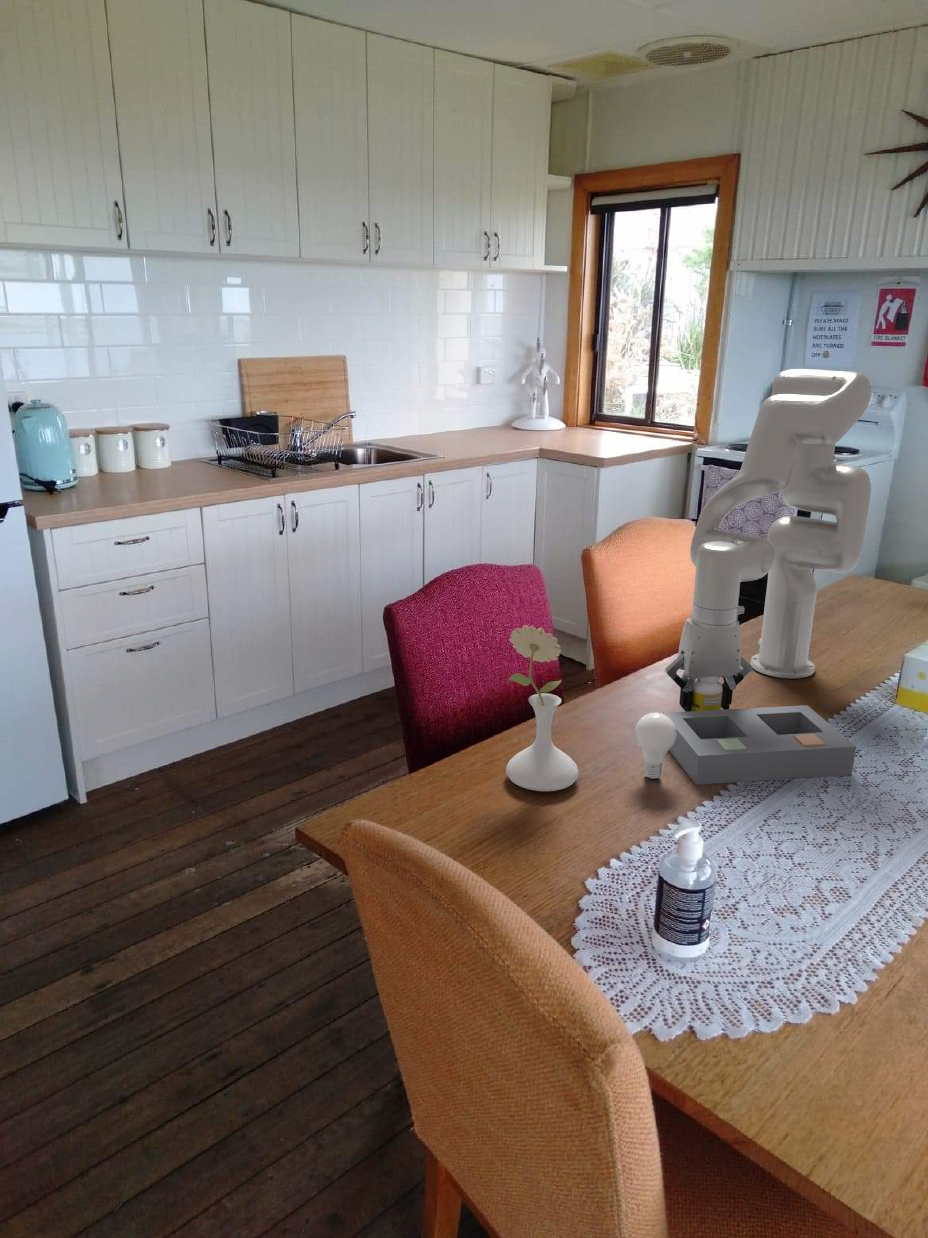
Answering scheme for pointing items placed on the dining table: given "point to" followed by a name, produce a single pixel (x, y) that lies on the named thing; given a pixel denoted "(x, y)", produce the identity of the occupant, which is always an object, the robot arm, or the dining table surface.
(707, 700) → the supplement bottle
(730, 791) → the dining table surface
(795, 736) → the socket board
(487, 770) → the dining table surface
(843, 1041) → the dining table surface
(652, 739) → the lightbulb
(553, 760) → the flower in vase
